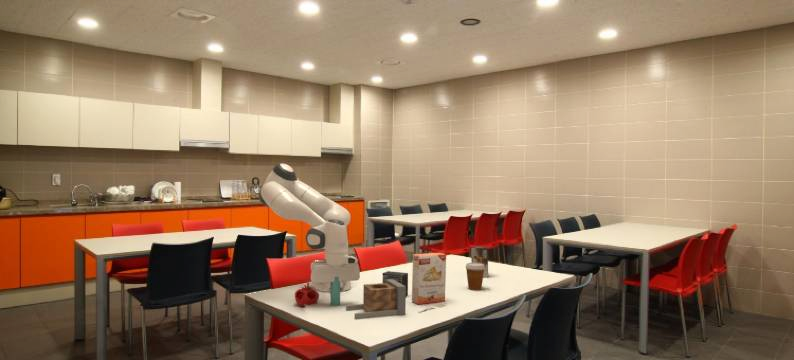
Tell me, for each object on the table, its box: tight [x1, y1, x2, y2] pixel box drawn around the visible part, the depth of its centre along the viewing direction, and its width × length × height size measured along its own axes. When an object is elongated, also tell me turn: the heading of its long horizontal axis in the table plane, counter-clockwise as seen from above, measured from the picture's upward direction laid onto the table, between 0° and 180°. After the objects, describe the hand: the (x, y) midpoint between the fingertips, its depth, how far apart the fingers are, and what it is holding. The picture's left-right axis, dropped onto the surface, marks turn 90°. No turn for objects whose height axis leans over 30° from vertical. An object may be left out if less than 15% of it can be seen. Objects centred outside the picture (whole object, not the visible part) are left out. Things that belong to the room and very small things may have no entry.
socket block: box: [362, 282, 396, 312], centre depth 192 cm, size 10×10×10 cm
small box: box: [382, 270, 409, 297], centre depth 222 cm, size 11×6×10 cm, turn 65°
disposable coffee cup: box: [465, 262, 485, 291], centre depth 237 cm, size 10×10×12 cm
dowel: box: [329, 277, 341, 307], centre depth 202 cm, size 4×4×13 cm
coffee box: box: [470, 245, 489, 279], centre depth 267 cm, size 9×6×16 cm
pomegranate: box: [294, 282, 320, 307], centre depth 205 cm, size 10×10×9 cm
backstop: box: [345, 279, 407, 320], centre depth 190 cm, size 25×14×12 cm, turn 111°
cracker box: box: [411, 252, 447, 305], centre depth 212 cm, size 14×6×21 cm, turn 117°
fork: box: [417, 301, 448, 314], centre depth 199 cm, size 3×24×2 cm, turn 136°
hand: (335, 292), depth 202 cm, fingers closed on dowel, 4 cm apart
